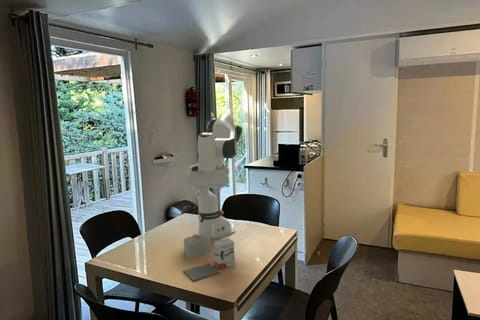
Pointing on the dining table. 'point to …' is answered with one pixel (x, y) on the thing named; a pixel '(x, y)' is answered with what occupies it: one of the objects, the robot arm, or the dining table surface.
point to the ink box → (224, 254)
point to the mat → (201, 272)
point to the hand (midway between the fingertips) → (208, 194)
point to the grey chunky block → (196, 246)
